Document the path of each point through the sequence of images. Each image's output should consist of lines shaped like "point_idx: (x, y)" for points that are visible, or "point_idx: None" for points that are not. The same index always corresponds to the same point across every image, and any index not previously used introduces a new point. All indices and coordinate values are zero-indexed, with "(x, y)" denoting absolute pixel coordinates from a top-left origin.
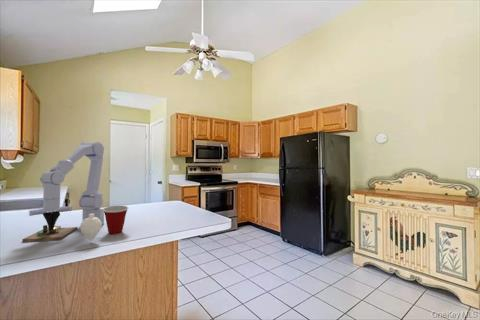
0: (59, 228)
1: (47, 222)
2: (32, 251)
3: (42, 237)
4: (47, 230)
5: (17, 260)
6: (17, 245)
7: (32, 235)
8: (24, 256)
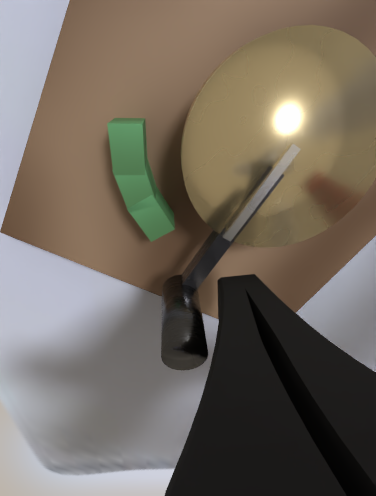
0: (334, 213)
1: (221, 349)
2: (115, 412)
3: (159, 276)
4: (205, 277)
5: (77, 460)
6: (6, 285)
7: (63, 125)
8: (93, 442)
